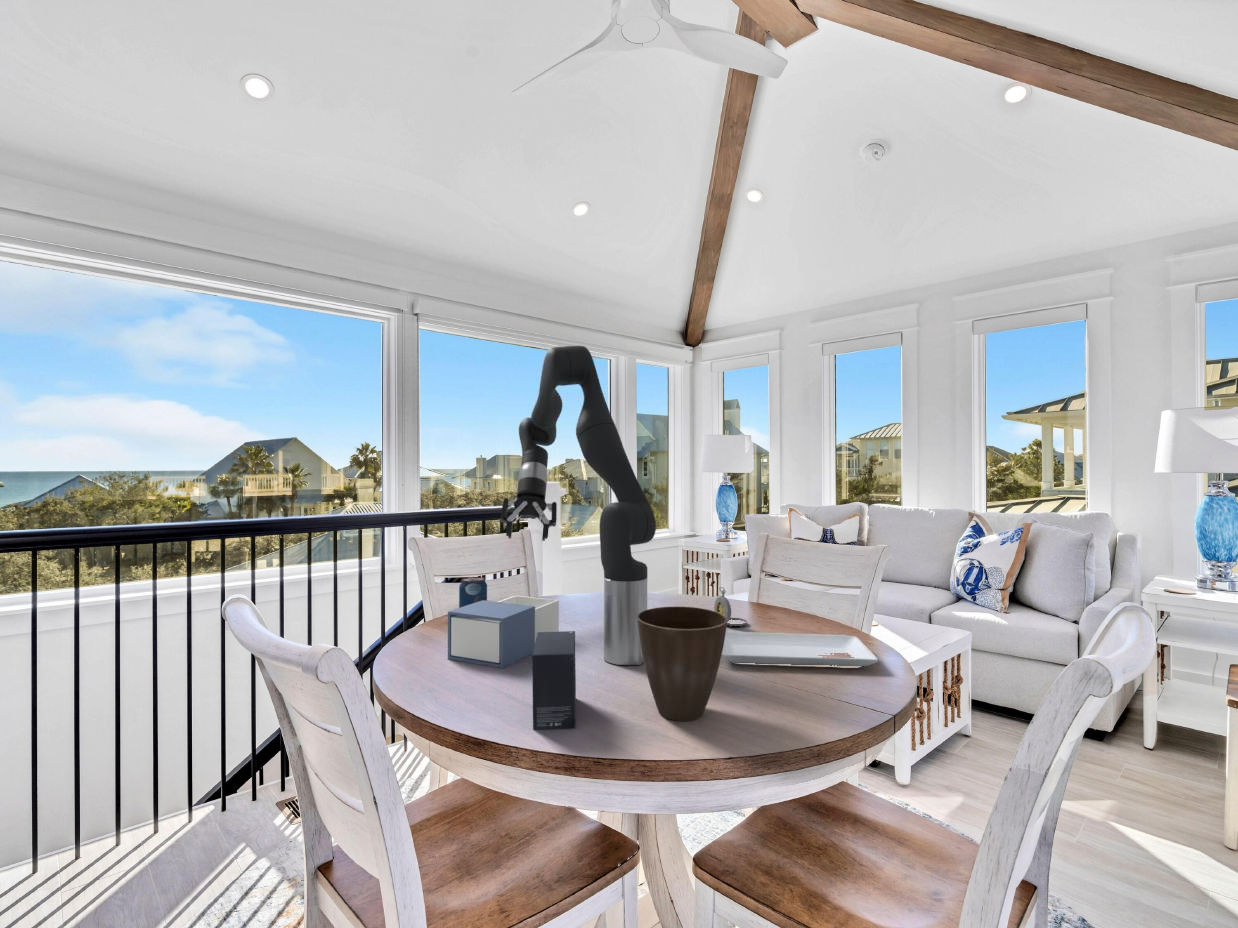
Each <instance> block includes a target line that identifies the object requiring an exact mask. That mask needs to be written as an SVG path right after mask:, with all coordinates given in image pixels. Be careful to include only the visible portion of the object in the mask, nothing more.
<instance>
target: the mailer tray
mask: <svg viewBox="0 0 1238 928" xmlns="http://www.w3.org/2000/svg"><path fill="white" fill-rule="evenodd" d="M497 602H502V603H511V604H519V605H528V606H535V641H536V637H537V633H538V632H560V600H559V599H554V598H553V599H551V598H543V597H535V596H534V597H533V596H525V595H524V596H523V595H513V596H510V597H507V598H504V599H501V600H499V601H497ZM500 624H501V621H495V620H487V619H479V618H472V617H464V616H453V617H451V655H453V656H459V657H465V658H471V659H478V660H484V661H490V662H496V663H500Z"/></svg>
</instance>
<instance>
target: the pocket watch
mask: <svg viewBox="0 0 1238 928" xmlns="http://www.w3.org/2000/svg"><path fill="white" fill-rule="evenodd" d="M721 589H722V590H721ZM719 591H720V593H721V595H720V596H718V597H717V598H715V601H714V605H713V607H714V610H713V611H715V612H718V613H721V614H723V615H724V616H726V617H727V622H728V621H729V620H731V619H732V620H741V621H744V622H746V623H743V624H730V623H727V625H729V626H728V627H732V626H740V627H744V626H743V625H745V626H747V625H748V620H746V619H744V618H741V617H740V618H739V617H732V607H731V606H732V605H731V603H730V601H729V599H728V598H727V597H726V596H725V594H726V592H727V591H726V589H725V588H724V587H723V586H720V587H719ZM746 624H747V625H746Z"/></svg>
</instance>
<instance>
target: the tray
mask: <svg viewBox="0 0 1238 928" xmlns="http://www.w3.org/2000/svg"><path fill="white" fill-rule="evenodd" d="M825 653H826V654H825ZM830 653H833V654H832V655H834V653H848V654H849V655H851V657H854V658H822V657H823V656H818V655H831V654H830ZM845 655H846V654H845ZM825 657H826V656H825ZM721 658H723V659H725V660H727V661H729V662H732V663H733V662H734V663H755V664H791V665H830V666H832V665H834V666H835V665H837V666H864V667H868V666H870V665H873V664H876V663H878V662H879V659H878V657H877V656H876V655H875V654H874V653H873V652H872V651H871V650H870V649H869V648H868V647H867V646H866V645H865V644H864V642H863V641H862V640H861V639H860V638H858V636H854V635H847V634H824V633H823V634H821V633H820V634H819V633H782V632H781V633H780V632H777V633H776V632H753V631H752V632H751V631H750V632H747V631H742V632H741V631H726V634H725V640H724V646H723V651H722V655H721Z"/></svg>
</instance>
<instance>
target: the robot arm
mask: <svg viewBox="0 0 1238 928" xmlns="http://www.w3.org/2000/svg"><path fill="white" fill-rule="evenodd" d="M575 385H578V386H580V387H581V390H582V392H583V393H582V394H583V403H582V407H581V410H580V413H579V416H578V419H577V423H576V427H575V435H576V439H577V442H578V445H579V448H580V451H581V452H582V455H583V458H584V460H585V461H586V463H587V464H588V465H589V466H590V468H591V469H592V470H593V471H594V472H595V473H596V474H597V475H598V476H599V477H600V478H601V479H602V480H603V481H604V482H605V483H606V484H607V485H608V487H609V488H610V489H611V490H612V493H613V494H614V495H615V497H616V500H617V502H616V501H615V502H610V503H608V504H607V505H605V506H604V508H603V509H602V511H601V513H600V517H599V545H600V547H599V548H600V561H601V565H602V569H603V660H604V661H606V662H607V663H610V664H612V665H613V664H614V665H617V666H618V665H619V666H633V665H634V666H635V665H636V666H641V665H642V664H644V660H643V655H642V649H641V643H640V636H639V628H638V620H637V615H638V614H639V613H640V612H642V611H645V610H648V566H647V564H646V563H644V562H643V561H639V560H637V559H635V558H634V557H633V555H632V548H631V546H636V545H642V544H647V543H649V542H650V541H652V540H653V539H654V537H655V534H656V532H657V531H656V530H657V524H656V523H657V522H656V516H655V514H654V511H653V509H652V506H651V504H650V502H649V499H648V498H647V496H646V495H645V492H644V490H643V489H642V486H641V485H640V483H639V481H638V478H637V477H636V474H635V473H634V470H633V467H632V465H631V463H630V460H629V458H628V455H627V453H626V450H625V447H624V444H623V441H622V439H621V436H620V434H619V432H618V431H619V430H618V428H617V426H616V424H615V422H614V419H613V416H612V414H611V412H610V410H609V406H608V404H607V402H606V398H605V396H604V393H603V390H602V386H601V382H600V379H599V375H598V371H597V369H596V365H595V361H594V358H593V357H592V354H591V351H590V350H589V349H588V348H587V347H586V346H584V345H568V346H567V345H566V346H553V347H552V348H550V349H549V350H547V352H546V353H545V356H544V360H543V364H542V370H541V376H540V381H539V390H538V396H537V399H536V402H535V404H534V407H533V409H532V412H531V415H530V417H525V418H523V419H522V420H521V421H520V424H519V425H518V426H519V427H518V436H519V441H520V446H521V453H522V455H521V464H520V469H519V474H518V479H517V481H518V483H517V488H516V489H517V490H516V498H515V499H514V500H509V498H507V497H505V498H504V499H503V501H502V505H501V506H502V508H501V513H500V523H502V524H506V526H505V527H506V529H505V536H506V537H507V538H508V539H512V536H513V535H512V534H513V524H515V522H517V521H518V520H520V518H523V519H532V520H535V519H537V520H538V522H539V523H541V524H542V526H543V527H542V535H541V536H542V538H541V541H543V542H545V541H546V540H547V539H548V537H549V529H550V528H551V527H556V526H557V518H558V517H557V515H558V514H557V513H558V512H557V511H558V509H557V505H558V504H557V502H555V501H553V502H552V503H549V502H546V494H547V485H548V464H549V463H548V462H549V460H548V459H549V452H548V451H547V449H546V448H544V447H549V446H551V445H553V444H554V443H555V441H556V439H557V422H558V419H559V418H560V415H561V413H562V411H563V399H562V397H561V395H560V393H559V392H558V391H557V389H556V388H557V387H558V386H559V387H560V386H561V387H564V386H575ZM512 507H514V508H515V509H514V511H513V512H512V514H510V515H509V516H507V515H508V510H510V509H511V508H512ZM546 509H547V510H548V512H550V513H551V519H548V518H547V516H546V513H544V512H545V510H546Z"/></svg>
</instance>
